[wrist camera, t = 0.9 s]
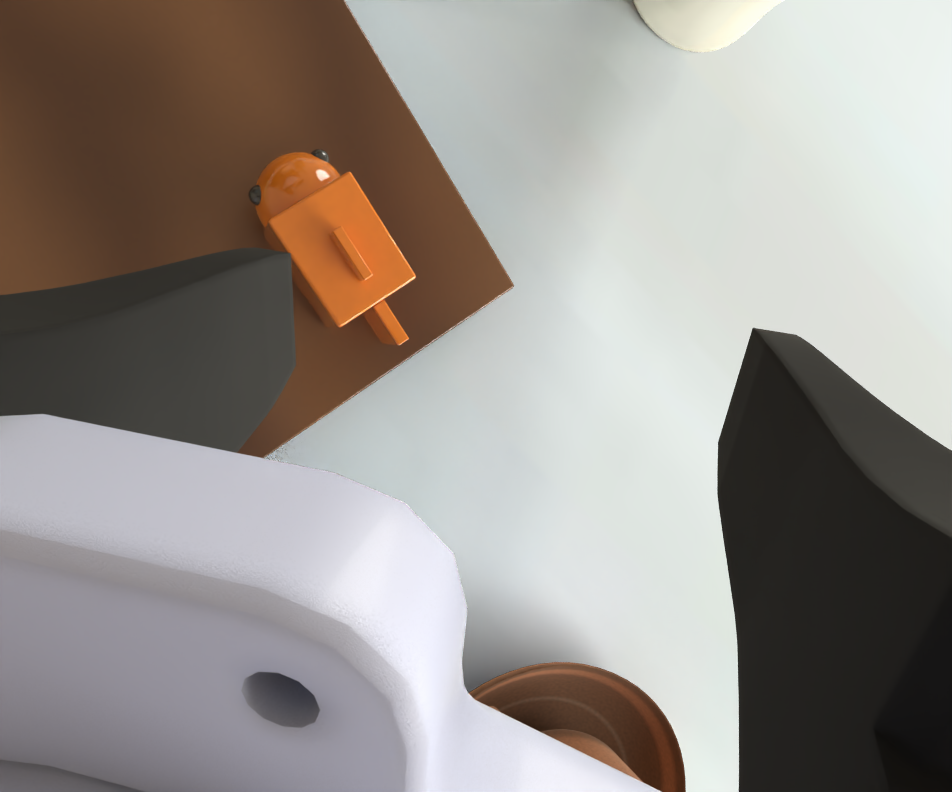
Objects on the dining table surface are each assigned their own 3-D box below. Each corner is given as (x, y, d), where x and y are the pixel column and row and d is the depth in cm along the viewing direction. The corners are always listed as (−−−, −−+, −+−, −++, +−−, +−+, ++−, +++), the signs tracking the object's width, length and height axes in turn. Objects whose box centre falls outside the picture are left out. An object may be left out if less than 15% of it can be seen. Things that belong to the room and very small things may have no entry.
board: (1, 631, 24) (-8, 643, 23) (-535, 35, 19) (-575, 20, 18) (505, 287, 28) (515, 286, 27) (169, -275, 23) (167, -300, 22)
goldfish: (417, 317, 26) (450, 316, 22) (349, 363, 26) (371, 370, 22) (308, 147, 25) (323, 114, 21) (233, 191, 24) (234, 166, 20)
